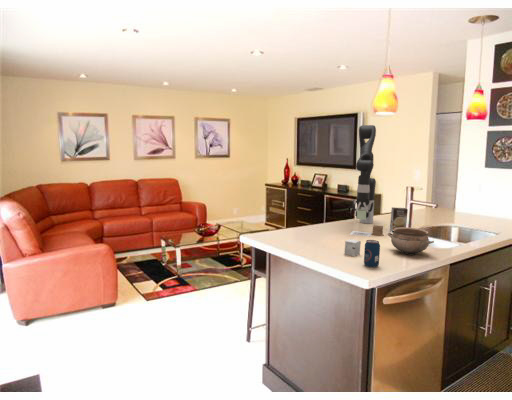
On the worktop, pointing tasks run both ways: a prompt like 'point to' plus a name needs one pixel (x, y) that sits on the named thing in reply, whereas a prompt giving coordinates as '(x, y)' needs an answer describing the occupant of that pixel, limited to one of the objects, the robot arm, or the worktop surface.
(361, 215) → the sage cube
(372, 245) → the soda can
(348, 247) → the skincare box
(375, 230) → the walnut block
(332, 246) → the worktop surface
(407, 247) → the cooking pot
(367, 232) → the letter
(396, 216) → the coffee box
